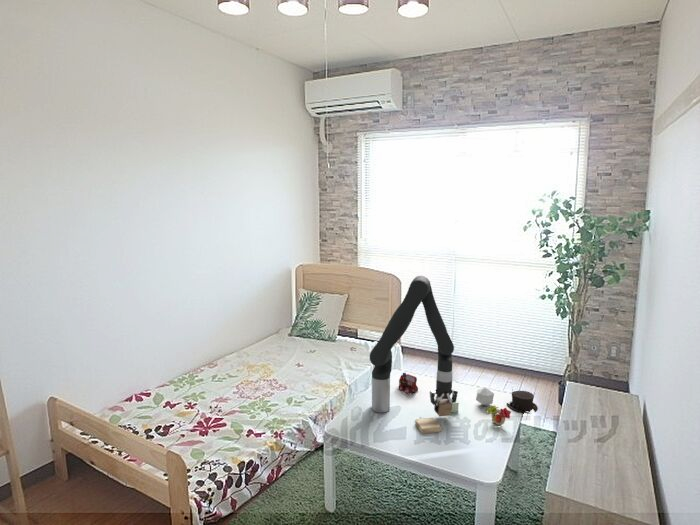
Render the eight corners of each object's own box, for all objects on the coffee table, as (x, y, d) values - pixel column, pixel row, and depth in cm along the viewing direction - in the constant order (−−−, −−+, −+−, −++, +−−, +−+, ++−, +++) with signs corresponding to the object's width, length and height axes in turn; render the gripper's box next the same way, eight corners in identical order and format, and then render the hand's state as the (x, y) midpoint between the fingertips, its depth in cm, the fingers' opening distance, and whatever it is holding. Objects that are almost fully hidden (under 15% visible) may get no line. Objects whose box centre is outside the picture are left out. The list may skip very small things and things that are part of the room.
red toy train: (404, 386, 262) (404, 369, 261) (420, 393, 253) (420, 375, 251) (395, 389, 258) (395, 372, 257) (411, 396, 248) (411, 378, 247)
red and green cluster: (491, 418, 223) (492, 400, 222) (513, 426, 215) (514, 407, 214) (485, 422, 219) (485, 404, 218) (506, 430, 211) (507, 412, 210)
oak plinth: (415, 424, 217) (415, 419, 217) (432, 422, 219) (433, 417, 219) (422, 433, 208) (422, 428, 208) (440, 431, 210) (440, 426, 210)
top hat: (522, 399, 245) (523, 380, 244) (544, 410, 232) (545, 391, 230) (500, 404, 240) (501, 385, 238) (521, 416, 226) (522, 396, 225)
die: (496, 407, 235) (497, 389, 234) (482, 410, 232) (483, 391, 230) (486, 401, 243) (487, 383, 241) (472, 403, 239) (473, 385, 238)
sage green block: (444, 408, 234) (445, 399, 233) (453, 407, 235) (454, 398, 234) (449, 413, 229) (449, 403, 228) (458, 412, 230) (458, 402, 230)
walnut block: (434, 410, 225) (435, 399, 224) (445, 409, 227) (446, 398, 226) (439, 416, 219) (440, 404, 219) (451, 415, 221) (451, 403, 220)
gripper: (454, 374, 226) (453, 406, 228) (427, 376, 222) (426, 409, 225) (461, 380, 218) (459, 413, 221) (433, 382, 215) (432, 416, 218)
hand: (442, 411), depth 223 cm, fingers closed on walnut block, 6 cm apart
